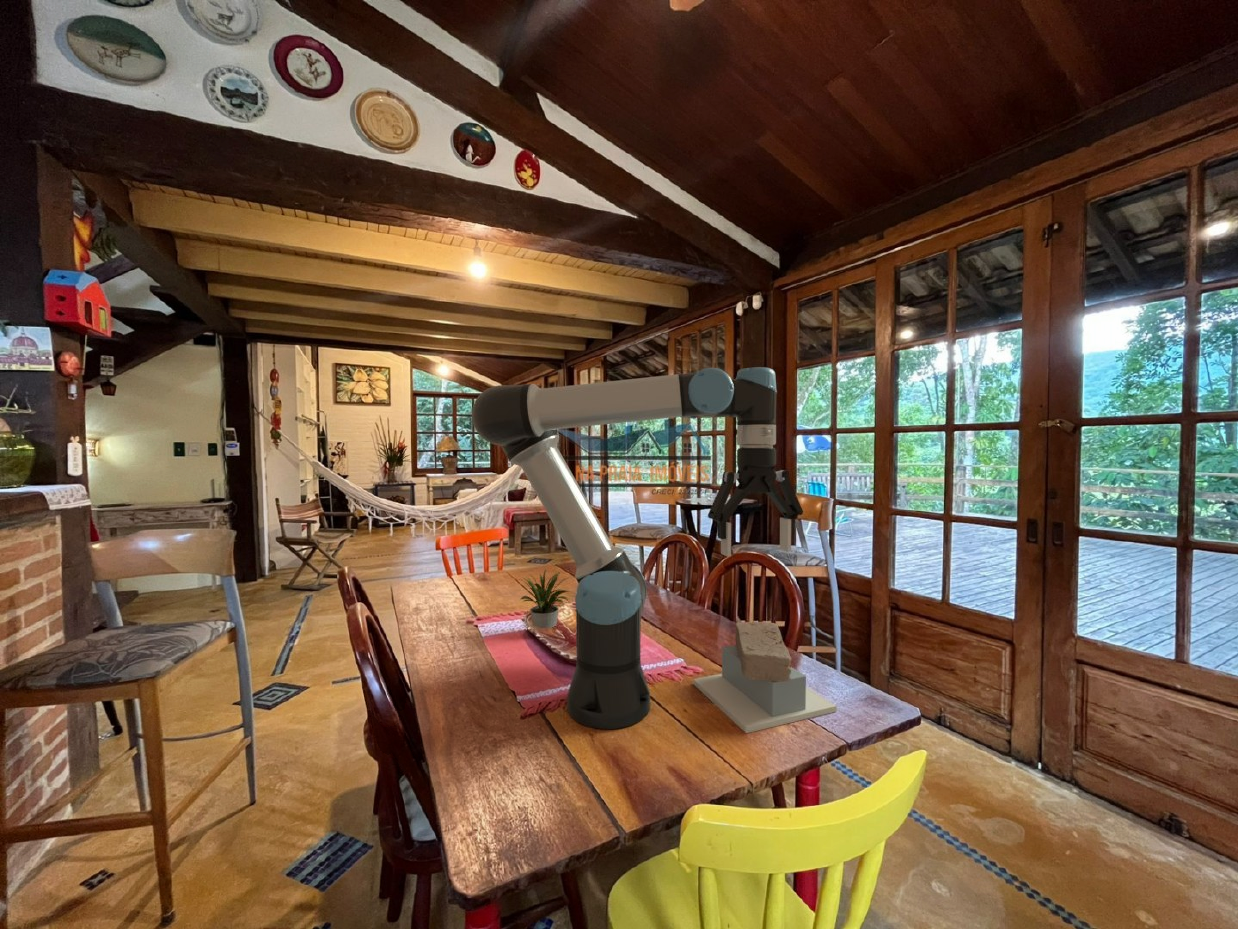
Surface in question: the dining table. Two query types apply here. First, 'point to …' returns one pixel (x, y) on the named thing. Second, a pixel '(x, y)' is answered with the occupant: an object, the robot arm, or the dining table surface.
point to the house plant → (545, 602)
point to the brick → (762, 651)
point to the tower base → (751, 709)
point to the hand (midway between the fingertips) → (756, 552)
